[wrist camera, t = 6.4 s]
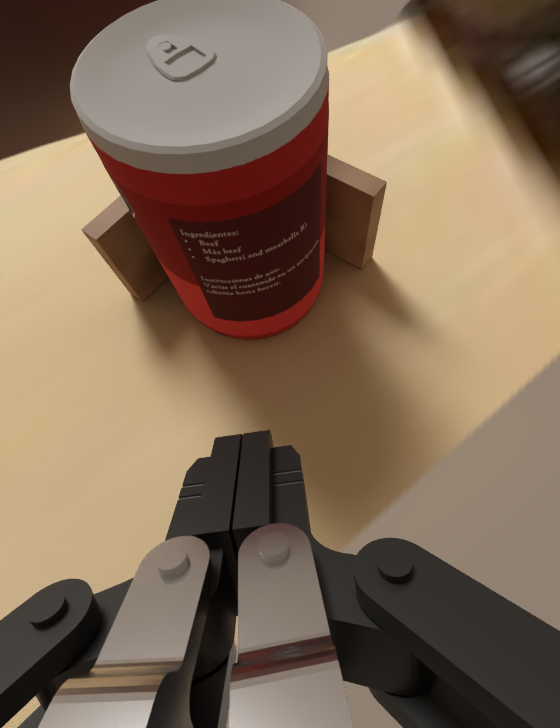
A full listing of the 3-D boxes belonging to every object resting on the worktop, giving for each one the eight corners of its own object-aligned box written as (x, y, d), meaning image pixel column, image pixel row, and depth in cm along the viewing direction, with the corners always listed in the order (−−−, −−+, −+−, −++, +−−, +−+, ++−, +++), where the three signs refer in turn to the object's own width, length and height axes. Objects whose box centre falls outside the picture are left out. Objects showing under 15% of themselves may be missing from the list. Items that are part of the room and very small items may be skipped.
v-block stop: (130, 304, 22) (79, 242, 17) (134, 206, 25) (92, 131, 20) (374, 267, 21) (390, 194, 17) (349, 172, 24) (357, 87, 20)
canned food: (230, 207, 24) (166, -31, 14) (350, 256, 22) (378, 15, 12) (152, 304, 22) (9, 102, 12) (278, 369, 19) (237, 191, 9)
